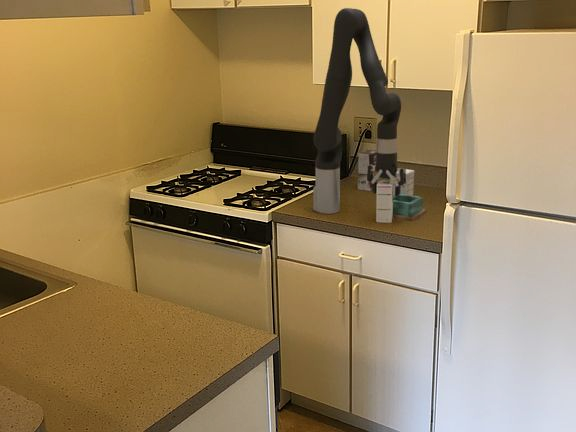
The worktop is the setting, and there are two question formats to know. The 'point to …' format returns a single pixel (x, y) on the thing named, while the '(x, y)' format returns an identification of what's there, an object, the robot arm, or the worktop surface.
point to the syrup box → (384, 202)
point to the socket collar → (407, 207)
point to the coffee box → (366, 169)
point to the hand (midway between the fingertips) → (386, 194)
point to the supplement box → (408, 186)
